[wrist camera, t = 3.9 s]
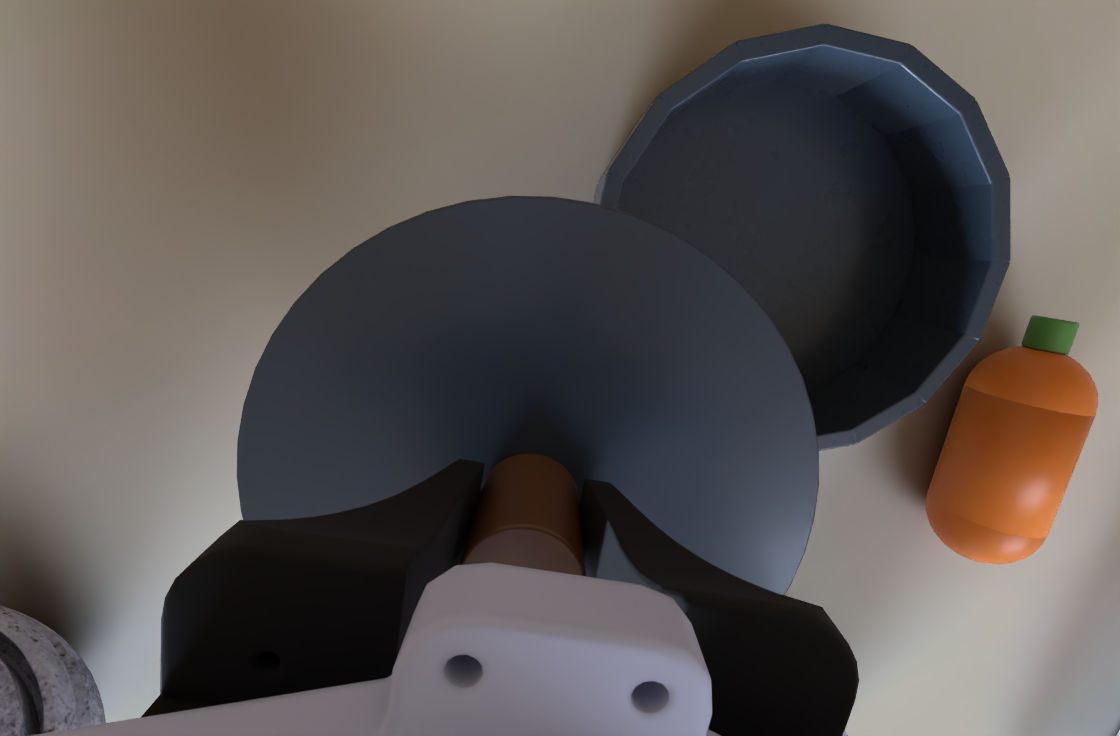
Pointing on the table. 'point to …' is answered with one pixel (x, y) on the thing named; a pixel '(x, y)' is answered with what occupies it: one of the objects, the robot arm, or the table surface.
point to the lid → (539, 388)
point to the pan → (834, 208)
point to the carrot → (1012, 446)
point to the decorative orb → (42, 680)
